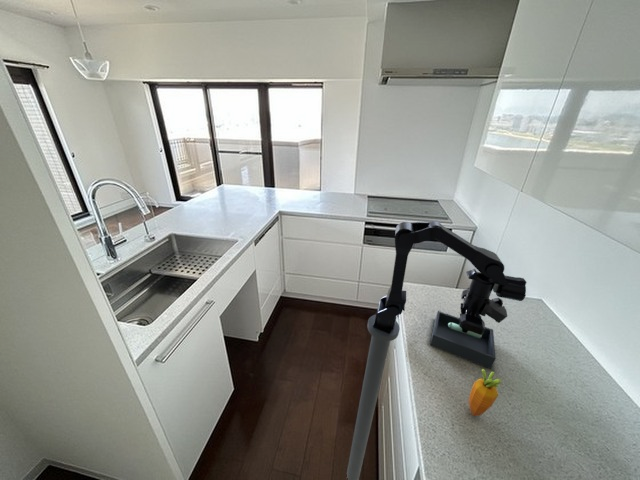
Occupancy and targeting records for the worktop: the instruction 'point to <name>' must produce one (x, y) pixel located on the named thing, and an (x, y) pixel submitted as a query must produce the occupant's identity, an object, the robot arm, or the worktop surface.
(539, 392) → the worktop surface
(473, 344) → the bin
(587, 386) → the worktop surface
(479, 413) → the carrot
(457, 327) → the pale green rod
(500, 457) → the worktop surface
